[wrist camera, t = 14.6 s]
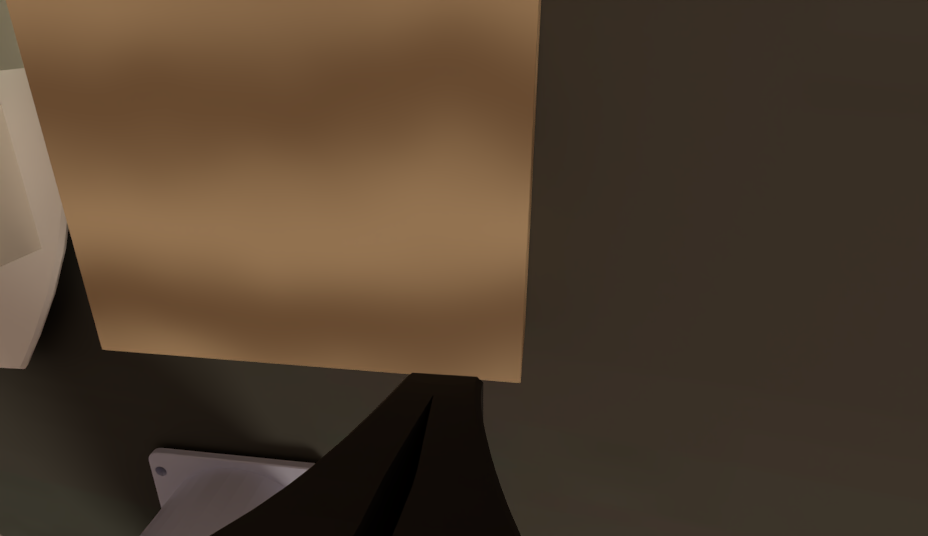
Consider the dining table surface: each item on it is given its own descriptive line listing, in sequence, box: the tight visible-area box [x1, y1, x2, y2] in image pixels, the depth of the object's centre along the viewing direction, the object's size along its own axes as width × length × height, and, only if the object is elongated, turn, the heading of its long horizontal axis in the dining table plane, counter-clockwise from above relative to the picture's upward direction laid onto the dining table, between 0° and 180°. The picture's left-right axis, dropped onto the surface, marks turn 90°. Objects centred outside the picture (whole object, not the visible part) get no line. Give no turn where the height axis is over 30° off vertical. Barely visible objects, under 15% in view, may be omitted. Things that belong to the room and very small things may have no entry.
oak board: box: [6, 0, 541, 383], centre depth 17 cm, size 16×14×4 cm
